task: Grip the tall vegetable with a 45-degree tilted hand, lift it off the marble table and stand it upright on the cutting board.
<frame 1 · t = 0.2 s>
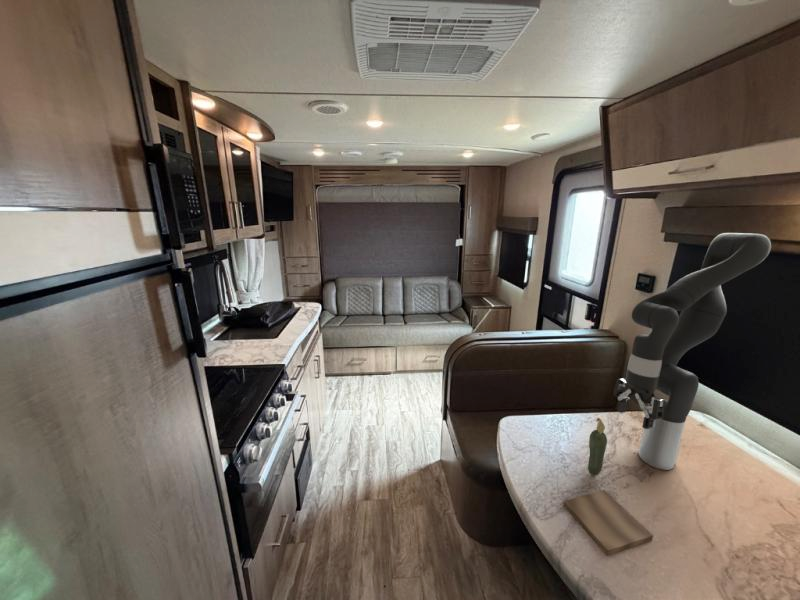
hand: (633, 419, 95), 18 cm above the table, tool pointing down, fingers open, 8 cm apart
cutting board: (604, 521, 82), on the table
vegetable: (591, 476, 97), on the table
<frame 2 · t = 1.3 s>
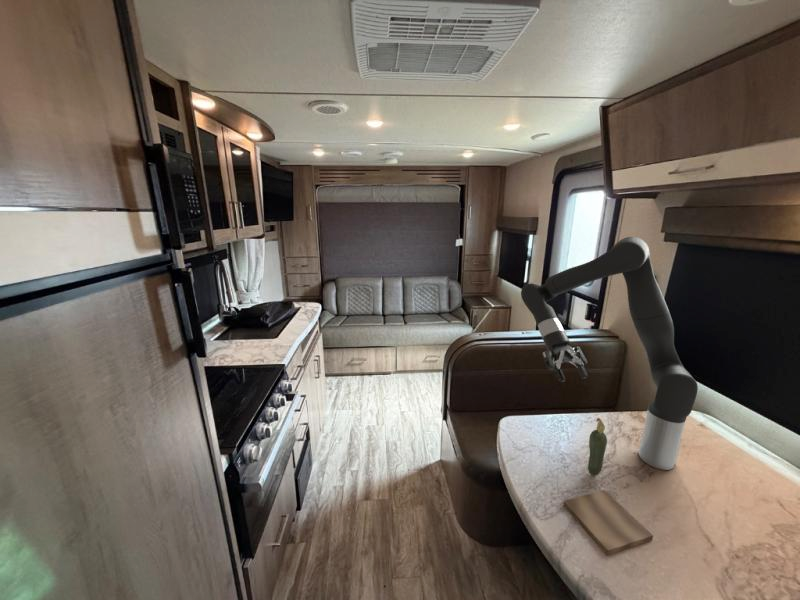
hand: (574, 379, 101), 27 cm above the table, tool tilted 45°, fingers open, 8 cm apart
nothing on the table moved.
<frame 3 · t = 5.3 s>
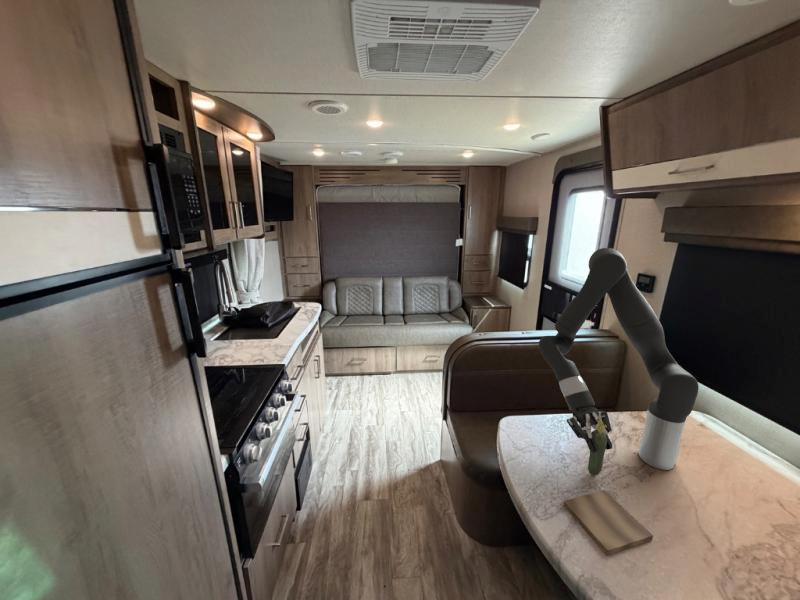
hand: (602, 450, 92), 11 cm above the table, tool tilted 45°, fingers closed on vegetable, 4 cm apart
vegetable: (591, 476, 97), on the table, touching gripper
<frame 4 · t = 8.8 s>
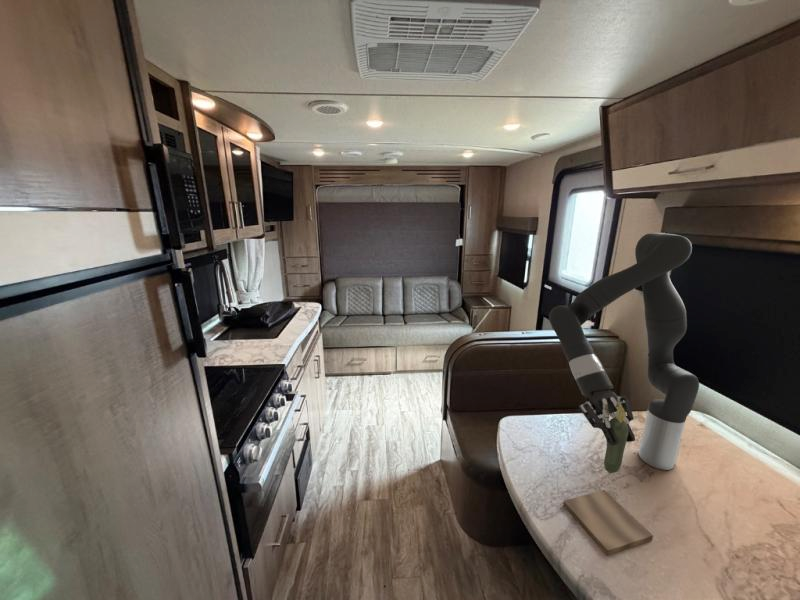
hand: (623, 442, 76), 25 cm above the table, tool tilted 45°, fingers closed on vegetable, 4 cm apart
vegetable: (608, 474, 80), point 14 cm above the table, touching gripper
when the fingers open (14 cm above the table, at t = 11.8 s): vegetable drops 1 cm, resting on cutting board.
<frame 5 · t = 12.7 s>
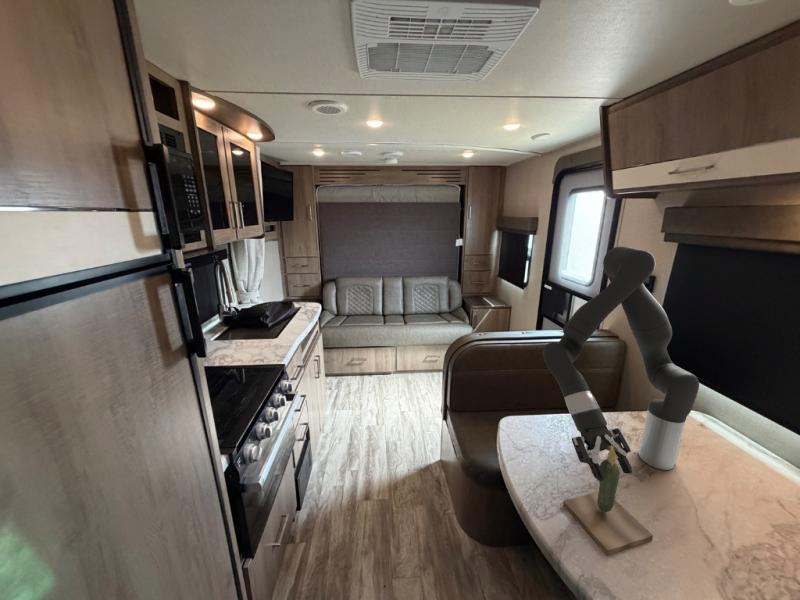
hand: (615, 476, 78), 15 cm above the table, tool tilted 45°, fingers open, 8 cm apart
vegetable: (601, 513, 83), point 1 cm above the table, touching cutting board
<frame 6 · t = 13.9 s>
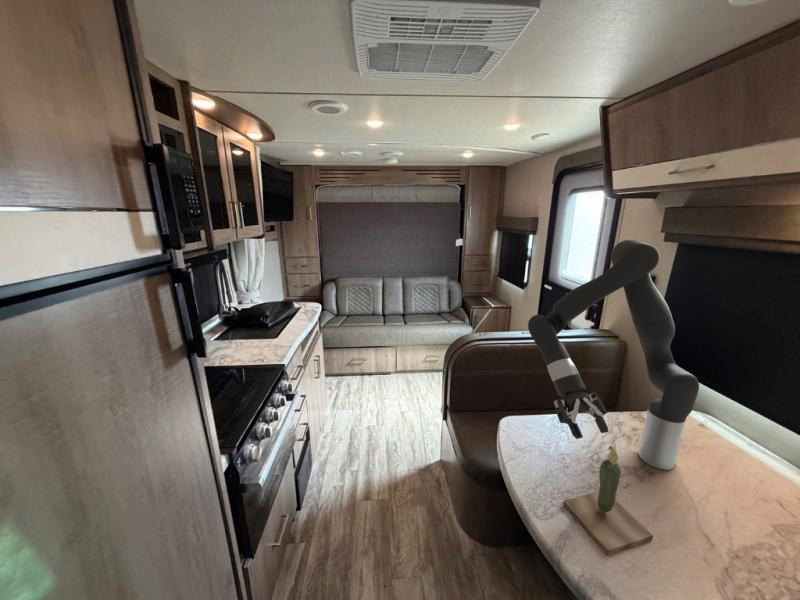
hand: (592, 435, 84), 21 cm above the table, tool tilted 45°, fingers open, 8 cm apart
nothing on the table moved.
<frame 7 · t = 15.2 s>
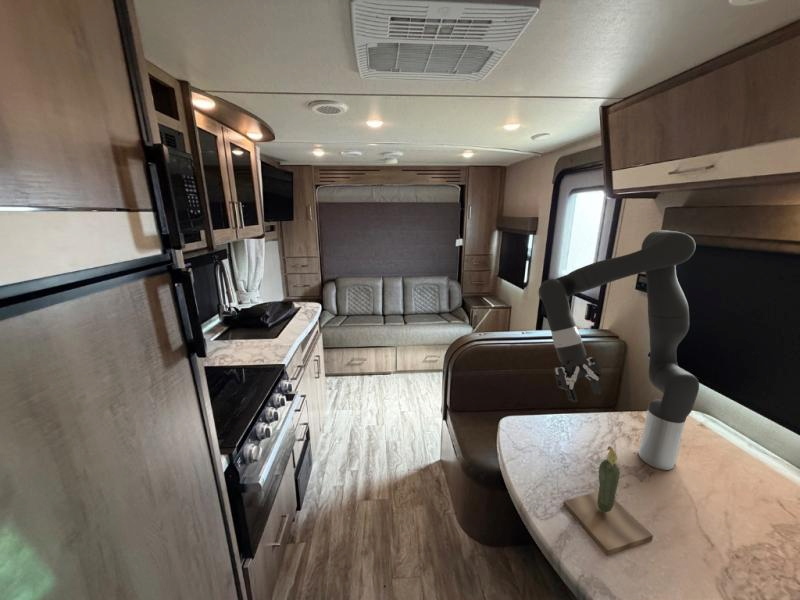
hand: (586, 397, 91), 27 cm above the table, tool tilted 25°, fingers open, 8 cm apart
nothing on the table moved.
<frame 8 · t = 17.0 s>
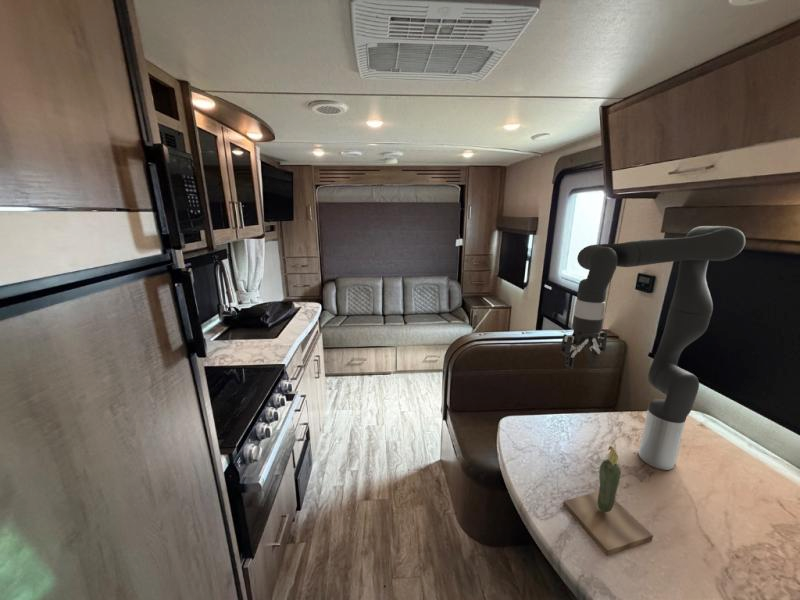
hand: (580, 365, 95), 34 cm above the table, tool pointing down, fingers open, 8 cm apart
nothing on the table moved.
at the end: vegetable 1.3 cm from the cutting board (horizontally); vegetable touching cutting board; vegetable tilted 1° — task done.
